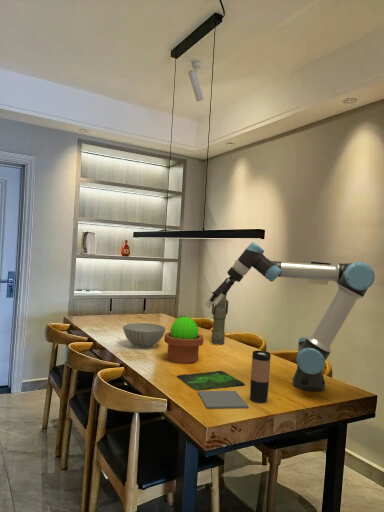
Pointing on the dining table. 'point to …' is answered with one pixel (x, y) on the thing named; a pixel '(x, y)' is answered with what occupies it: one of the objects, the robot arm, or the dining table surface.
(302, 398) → the dining table surface
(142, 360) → the dining table surface
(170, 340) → the potted cactus
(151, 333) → the decorative bowl
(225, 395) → the rubber mat
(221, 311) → the olive grey tall piece
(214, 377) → the mouse mat
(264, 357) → the travel mug
